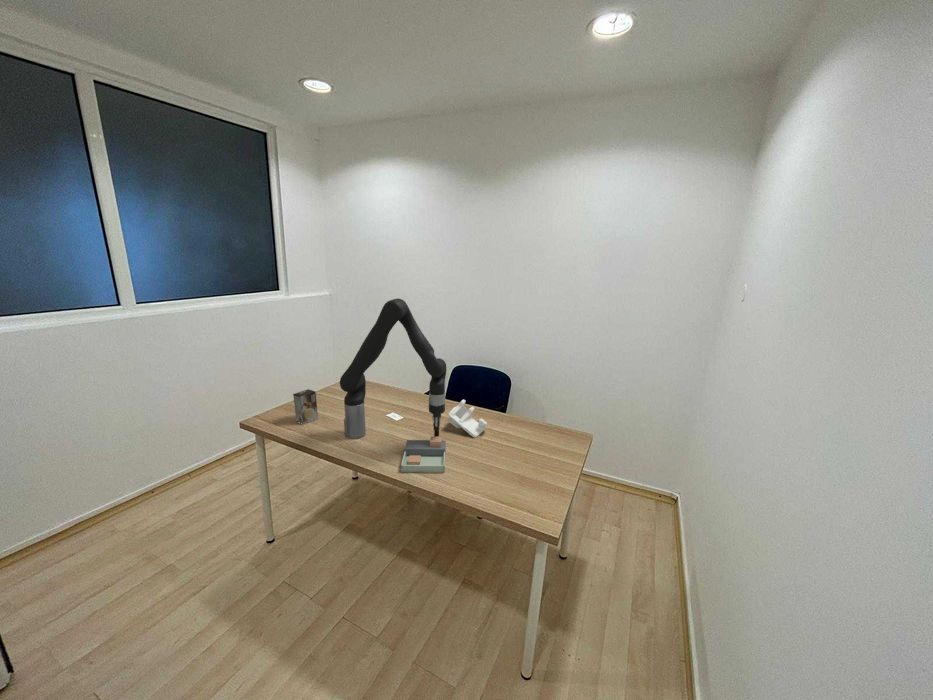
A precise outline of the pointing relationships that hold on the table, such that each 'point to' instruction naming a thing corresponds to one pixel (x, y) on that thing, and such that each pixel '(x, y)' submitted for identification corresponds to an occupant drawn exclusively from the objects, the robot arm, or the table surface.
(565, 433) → the table surface
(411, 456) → the tile left
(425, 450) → the grey flat block
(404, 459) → the tray
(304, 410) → the coffee box
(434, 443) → the tile right
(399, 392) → the table surface
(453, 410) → the tape dispenser
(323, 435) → the table surface
